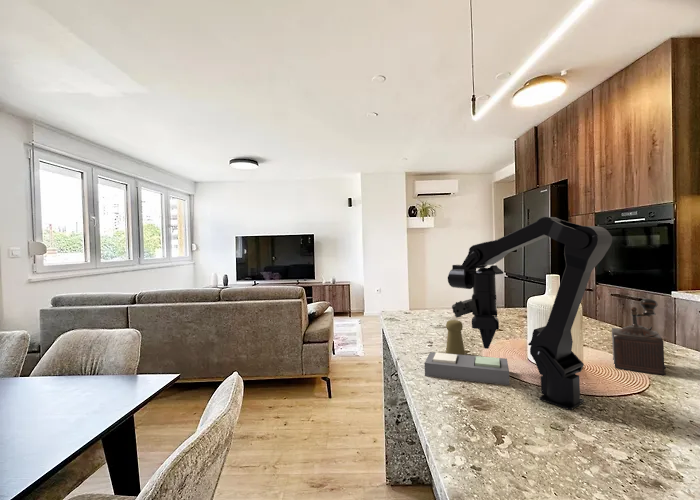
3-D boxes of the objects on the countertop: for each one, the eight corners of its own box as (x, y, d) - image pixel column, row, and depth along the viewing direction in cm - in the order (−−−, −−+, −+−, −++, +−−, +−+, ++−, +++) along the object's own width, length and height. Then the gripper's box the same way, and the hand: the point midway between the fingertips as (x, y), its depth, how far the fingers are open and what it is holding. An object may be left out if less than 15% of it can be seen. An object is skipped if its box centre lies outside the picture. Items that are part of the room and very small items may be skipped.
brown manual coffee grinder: (669, 376, 84) (667, 306, 84) (614, 368, 90) (611, 303, 91) (659, 359, 96) (657, 298, 97) (611, 353, 103) (609, 296, 103)
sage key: (499, 369, 90) (499, 358, 90) (500, 377, 85) (499, 365, 85) (476, 367, 93) (475, 356, 93) (475, 375, 87) (475, 363, 87)
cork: (466, 357, 104) (465, 322, 104) (446, 356, 105) (445, 322, 105) (463, 351, 110) (462, 318, 110) (445, 350, 111) (443, 318, 111)
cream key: (457, 365, 95) (457, 354, 95) (455, 373, 89) (455, 361, 89) (436, 363, 97) (435, 352, 97) (433, 370, 91) (432, 359, 91)
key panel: (507, 371, 91) (506, 358, 91) (509, 385, 82) (509, 371, 82) (430, 363, 99) (430, 352, 99) (424, 375, 90) (424, 362, 90)
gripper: (456, 286, 101) (458, 337, 101) (449, 294, 83) (451, 356, 83) (496, 286, 96) (497, 339, 96) (497, 295, 79) (500, 360, 79)
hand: (486, 348), depth 89 cm, fingers closed
